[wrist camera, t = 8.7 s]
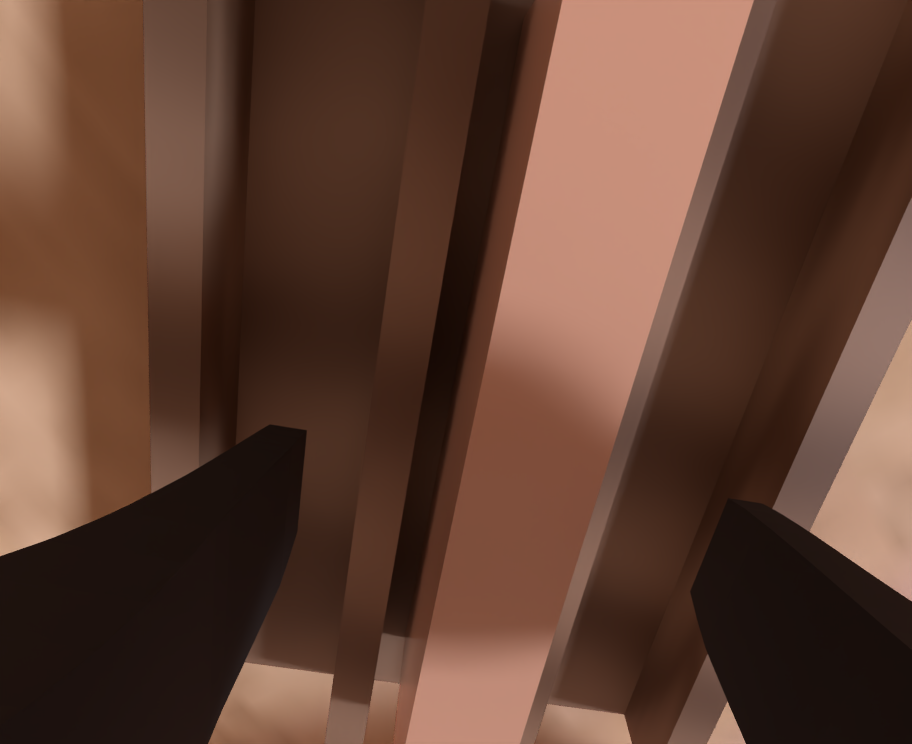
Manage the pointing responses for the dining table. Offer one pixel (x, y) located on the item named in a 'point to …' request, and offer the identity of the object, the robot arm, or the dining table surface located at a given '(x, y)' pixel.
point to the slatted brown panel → (447, 299)
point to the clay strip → (554, 339)
